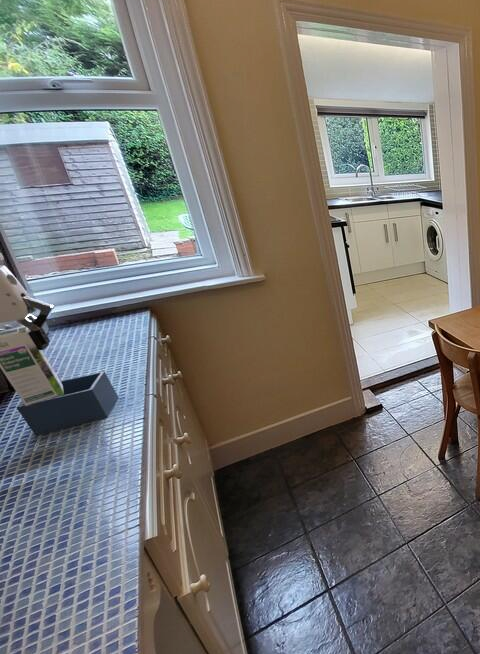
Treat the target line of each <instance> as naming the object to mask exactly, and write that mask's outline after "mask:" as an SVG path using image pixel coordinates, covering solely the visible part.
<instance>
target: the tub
mask: <svg viewBox="0 0 480 654" xmlns="http://www.w3.org/2000/svg"><path fill="white" fill-rule="evenodd" d="M60 381H61V383H62V385H63V391H64V394H63V395H60V396H56V397H53V398H49V399H46V400H43V401H40V402H36V403H33V404H31V405H28V406H25V405H24V404H23V402H22V401H20V403H19V404H17V406H16V409H17V411H18V412H19V414H20V415H21V417H22V418H23V420H24V421H25V424H27V426H28V428H29V429H30V430H31V432H32V433H33V434H34V436H35V437H37V436H41V435H42V436H43V435H45V434H49V433H53V432H57V431H61V430H65V429H68V428H72V427H76V426H80V425H83V424H87V423H91V422H94V421H98V420H102V419H106V418H108V417H109V415H110V413H111V412H110V411H112V410H113V408H114V406H115V405H116V403H117V401H118V399H119V396H118V394H117V392H116V390H115V388H114V386H113V384H112V382H111V381H110V379H109V377H108V375H107V374H106V371H105V370H102V371H98V372H94V373H90V374H89V373H88V374H85V375H81V376H76V377H73V378H67V379H63V380H60ZM112 407H113V408H112ZM111 409H112V410H111Z"/></svg>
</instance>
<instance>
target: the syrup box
mask: <svg viewBox="0 0 480 654" xmlns="http://www.w3.org/2000/svg"><path fill="white" fill-rule="evenodd" d="M29 332H30V330H29V329H28V328H27V327H25V326H24V325H21V326H17V327H13V328H9V329H5V330H0V369H1V372H2V373H3V374H4V376H5V377H6V379H7V380H8V381H9V383H10V385H11V386H12V387H13V389H14V391H15V392H16V394H17V395H18V397H19V399H20V400H21V402H23V404H24V405H25V406H28V405H31V404H33V403H36V402H40V401H43V400H46V399H49V398H53V397H56V396H60V395H63V394H64V391H63V385H62V383H61V381H62V380H60V378H59V376H58V375H57V372H56V371H55V370H54V368H53V366H52V364H51V363H50V361H49V360H48V358H47V356H46V355H45V353H44V350H38V349H37V347H36V345H35V344H34V342H33V341H32V339H31V337H30V336H29V334H28V333H29Z"/></svg>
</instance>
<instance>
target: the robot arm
mask: <svg viewBox="0 0 480 654" xmlns="http://www.w3.org/2000/svg"><path fill="white" fill-rule="evenodd" d="M4 260H5V258H4V255H3V254H2V253H1V252H0V261H4ZM54 309H55V305H53V304H52V303H48V302H46V301H45V302H44V301H41V300H39V299H36V298H32V297H31V296H30V294H29V293H28V292H27V290H26V289H25V288H24V286H23V285H22V283H21V282H20V281H19V280H18V279H17V277H15V275H14V274H13V273H12V271H11V270H10V269H8V267H6V265H4V264H2V265H0V324H5V323H11V322H17V323H19V324H20V325H21V326H25V327H27V328H28V329H29V330H30V332H29V333H28V334H29V336H30V337H31V339H32V341H33V342H34V344H35V345H36V347H37V349H38V350H42V351H44V350H45V349H46V348H47V347H49V345H50V342H51V340H50V338H49V336H48V334H47V332H46V331H45V329H44V327H43V326H44V325H45V323H46V322H47V320H48V319H49V318H50V316H51V314H52V312H53V310H54ZM37 310H39V314H38V315H37V317H36V316H35V315H33V313H35V312H36V311H37Z"/></svg>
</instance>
